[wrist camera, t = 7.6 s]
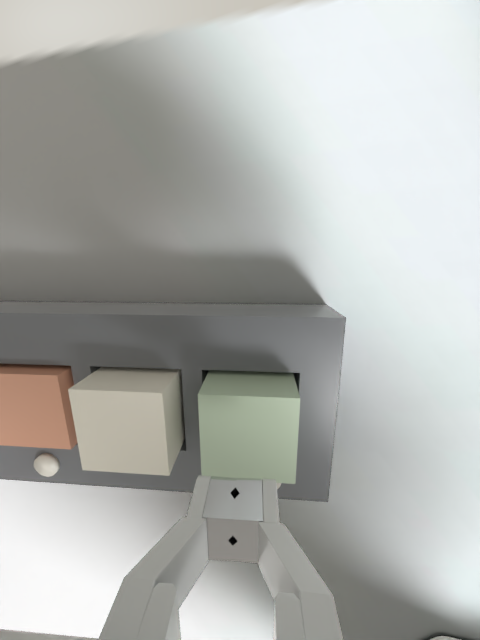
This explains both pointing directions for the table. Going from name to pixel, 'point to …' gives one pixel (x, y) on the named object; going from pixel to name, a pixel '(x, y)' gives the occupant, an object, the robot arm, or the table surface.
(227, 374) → the sage key
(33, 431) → the terracotta key
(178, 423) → the cream key
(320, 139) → the table surface
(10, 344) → the keypad
